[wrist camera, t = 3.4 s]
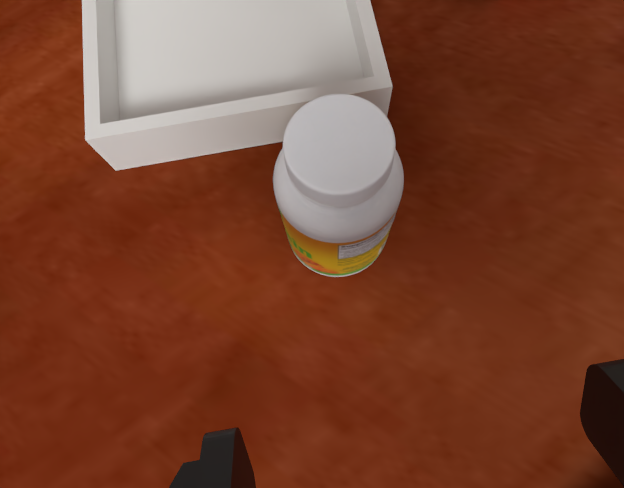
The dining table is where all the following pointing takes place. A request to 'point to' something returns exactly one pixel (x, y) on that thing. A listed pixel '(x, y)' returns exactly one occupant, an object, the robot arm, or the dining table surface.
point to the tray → (218, 71)
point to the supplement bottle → (338, 183)
